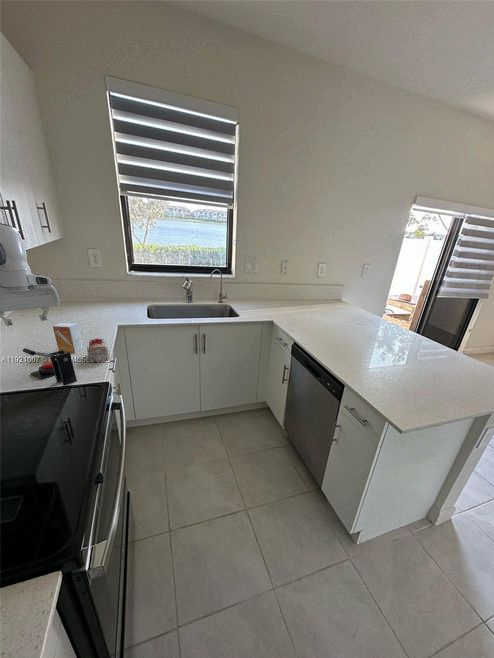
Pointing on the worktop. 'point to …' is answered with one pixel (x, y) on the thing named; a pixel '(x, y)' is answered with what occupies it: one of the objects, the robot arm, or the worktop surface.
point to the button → (47, 365)
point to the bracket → (63, 368)
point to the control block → (43, 373)
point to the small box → (68, 337)
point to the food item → (97, 350)
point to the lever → (39, 353)
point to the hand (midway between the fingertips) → (27, 322)
